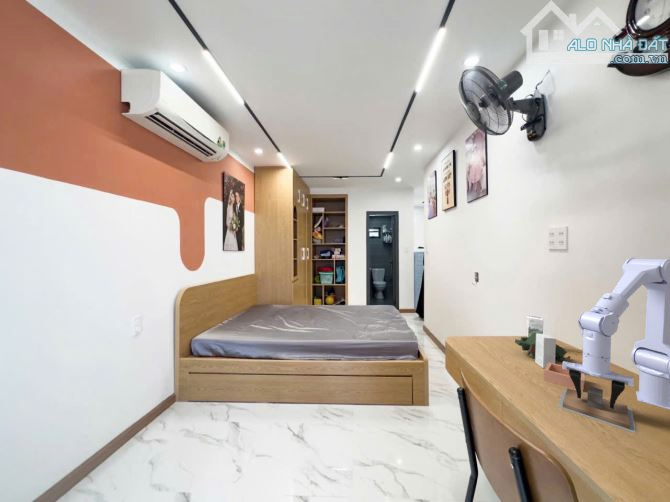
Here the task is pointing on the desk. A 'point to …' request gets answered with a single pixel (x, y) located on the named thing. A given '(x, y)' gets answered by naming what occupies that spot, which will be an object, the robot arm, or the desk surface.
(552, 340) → the skincare box
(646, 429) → the desk surface
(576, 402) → the walnut lid
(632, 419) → the rubber mat
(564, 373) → the pink open box
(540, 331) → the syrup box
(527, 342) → the green toy dinosaur
